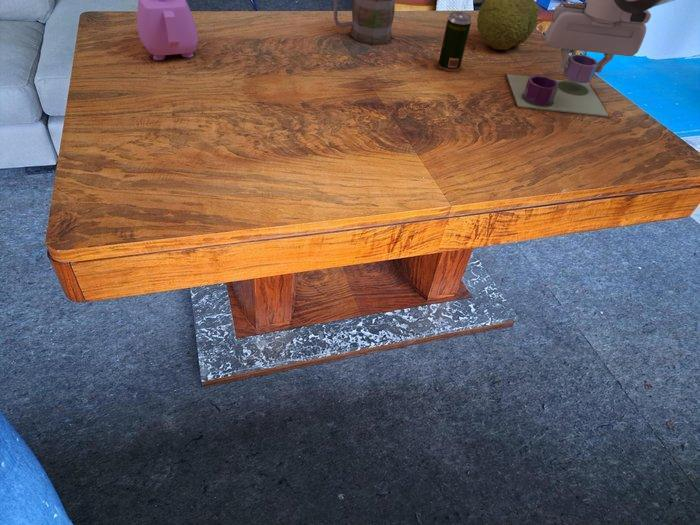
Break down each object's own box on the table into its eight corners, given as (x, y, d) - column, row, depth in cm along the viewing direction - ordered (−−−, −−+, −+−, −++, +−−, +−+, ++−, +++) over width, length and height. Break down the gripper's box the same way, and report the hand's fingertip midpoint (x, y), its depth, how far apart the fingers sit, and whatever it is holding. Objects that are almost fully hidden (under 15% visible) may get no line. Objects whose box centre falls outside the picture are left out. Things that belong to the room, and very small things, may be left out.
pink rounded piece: (208, 65, 112) (201, 4, 104) (149, 71, 108) (136, 8, 99) (189, 31, 125) (181, -26, 116) (135, 35, 121) (123, -24, 112)
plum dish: (548, 94, 116) (554, 77, 113) (554, 107, 112) (561, 89, 109) (521, 91, 116) (527, 74, 113) (526, 104, 111) (532, 86, 109)
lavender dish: (586, 73, 120) (593, 56, 117) (593, 84, 116) (601, 67, 113) (560, 70, 120) (567, 53, 117) (566, 81, 116) (573, 64, 113)
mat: (588, 84, 123) (589, 82, 123) (608, 117, 111) (609, 115, 111) (506, 75, 123) (507, 73, 122) (517, 107, 111) (518, 104, 111)
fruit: (528, 63, 129) (517, 7, 119) (476, 66, 138) (461, 14, 127) (549, 25, 135) (541, -31, 125) (498, 31, 144) (486, -22, 134)
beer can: (463, 71, 122) (476, 19, 114) (443, 72, 121) (454, 19, 112) (454, 62, 126) (466, 10, 117) (434, 63, 124) (444, 11, 116)
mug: (389, 30, 137) (396, -19, 129) (392, 46, 130) (399, -5, 121) (331, 25, 136) (334, -25, 128) (331, 41, 128) (334, -11, 120)
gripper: (561, 4, 104) (538, 70, 114) (659, 16, 105) (627, 80, 114) (554, -5, 109) (532, 58, 119) (648, 6, 109) (619, 68, 119)
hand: (580, 69), depth 117 cm, fingers closed on lavender dish, 6 cm apart
